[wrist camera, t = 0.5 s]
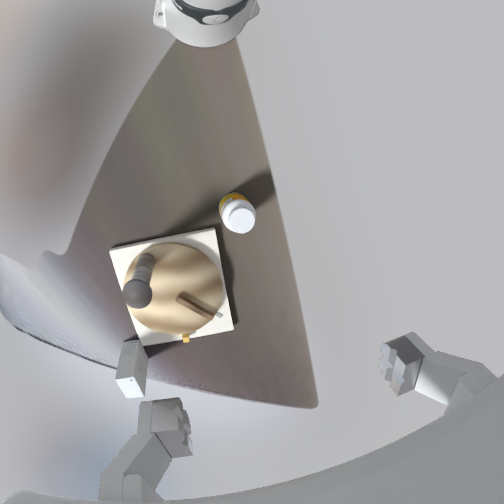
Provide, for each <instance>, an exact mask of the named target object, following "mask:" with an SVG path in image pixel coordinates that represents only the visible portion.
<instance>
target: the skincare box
mask: <svg viewBox="0 0 504 504" xmlns="http://www.w3.org/2000/svg"><path fill="white" fill-rule="evenodd" d="M147 366H148V357H147V355H146V352H145V350H144V348H143V346H142V344H141V341H140V339H139V340H133V341H127V342H123V345H122V350H121V354H120V359H119V363H118V368H117V373H116V378H115V380H116V382H117V383H118V385H119V386H120V388H121V390H122V391H123V393H124V395H125V396H126V398H127V399H128V398H136V397H144V396H145V386H146V376H147Z"/></svg>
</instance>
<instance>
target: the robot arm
mask: <svg viewBox="0 0 504 504" xmlns="http://www.w3.org/2000/svg"><path fill="white" fill-rule="evenodd" d="M160 13H162V14H163V15H162V16H159V14H160ZM258 13H259V6H258V3H257V0H156V5H155V11H154V17H153V23H154V25H155V26H157V27H160V28H162V29H166V30H168V31H169V32H171V33H172V34H173V35H174V36H175V37H176V38H177V39H179V40H180V41H182V42H184V43H186V44H188V45H192V46H196V47H213V46H218V45H221V44H224V43H226V42H228V41H230V40H232V39H233V38H235V37H236V36H237V35H238V34H239V33H240V32H241V31H242V29H243V27H244V26H245V24H246V23H247V22H248V21H249V20H250V19H252V18H254V17H255V16H256V15H257V14H258ZM381 352H382V354H383V355H382V356H381V357H380V359H379V369H380V372H381V375H382V376H383V377H384V379H386V380H388V381H390V387H391V388H392V389H393V390H394V392H395V393H396V395H397V396H399V395H402V394H404V393H406V392H408V391H411V390H413V389H414V390H416V391H418V392H420V393H422V394H424V395H426V396H428V397H430V398H433V399H435V400H437V401H439V402H441V403H443V404H445V405H447V406H448V407H447V409H446V411H445V413H444V415H443V416H442V417H440V418H438V419H437V420H435V421H433V422H431V423H429V424H428V425H426V426H424V427H422V428H421V429H419V430H417V431H415V432H413V433H411V434H409V435H407V436H405V437H403V438H401V439H399V440H397V441H395V442H393V443H391V444H389V445H386V446H384V447H382V448H380V449H378V450H375V451H373V452H371V453H368V454H366V455H363V456H361V457H358V458H356V459H353V460H351V461H348V462H346V463H343V464H340V465H338V466H335V467H332V468H329V469H326V470H323V471H320V472H317V473H314V474H311V475H307V476H304V477H301V478H297V479H294V480H290V481H287V482H283V483H279V484H275V485H271V486H266V487H262V488H257V489H252V490H247V491H242V492H237V493H231V494H225V495H218V496H211V497H203V498H195V499H184V500H170V501H164V500H163V499H162V498H161V497H160V496H159V495H158V494H157V493H156V492H155V489H156V487H157V485H158V484H159V482H160V480H161V479H162V477H163V475H164V473H165V471H166V470H167V468H168V466H169V464H170V462H171V461H172V458H177V457H184V456H191V455H193V448H192V441H191V439H190V437H189V435H190V434H191V426H190V422H189V418H188V415H187V412H186V411H185V410H184V409H183V406H182V402H181V400H180V398H170V399H161V400H153V401H144V402H141V403H140V406H139V417H138V428H137V435H133V436H132V437H131V439H130V440H129V441H128V442H127V443H126V444H125V446H124V447H123V448H122V449H121V451H120V452H119V453H118V454H117V455H116V457H115V458H114V459H113V460H112V461H111V462H110V464H109V465H108V466H107V467H106V468H105V470H104V471H103V472H102V473H101V478H100V488H99V500H88V499H77V498H69V497H61V496H55V495H48V494H43V493H38V492H33V491H27V490H19V491H17V492H15V493H14V494H13V495H11V496H10V497H9V498H8V499H7V500H5V501H4V502H3V503H2V504H504V374H503V375H502V376H501V377H499V378H497V377H496V376H495V375H494V374H493V373H492V372H490V370H488V369H487V368H486V367H485V366H484V365H483V364H482V363H479V362H475V361H472V360H468V359H464V358H461V357H457V356H454V355H449V354H446V353H443V352H439V351H437V352H435V351H434V350H432V349H431V348H430V347H429V346H428V345H427V344H426V343H425V342H424V341H423V340H422V339H421V338H420V337H419V336H418V335H417V334H416V333H414V332H411V333H408V334H406V335H403V336H401V337H398V338H396V339H393V340H391V341H388V342H386V343H383V344H382V346H381Z"/></svg>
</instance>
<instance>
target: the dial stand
mask: <svg viewBox="0 0 504 504" xmlns="http://www.w3.org/2000/svg"><path fill="white" fill-rule="evenodd" d="M167 242H175V243H183V244H187V245H190V246H192V247H195V248H197V249H198V250H200V251H202V252H203V253H205V254H206V255H207V256H208V257H209V258H210V259H211V260H212V261H213V263H214V264H215V265H216V267H217V269H218V271H219V273H220V276H221V280H222V285H223V298H222V302H221V305H220V308H219V310H218V312H217V313H216V315H215V316H214V318H213V320H212V321H210V322H208V323H207V324H206V325H205V326H203V327H201V328H200V329H198V330H195V331H193V332H190V333H186V334H179V335H171V334H164V333H159V332H156V331H154V330H151V329H149V328H147V327H146V326H144V325H143V324H141V323H140V322H139V321H138V320H137V319H136V318H135V317H134V316H133V315H132V313H131V312H130V310H129V309H128V310H129V313H130V315H131V318H132V321H133V323H134V326H135V329H136V331H137V334H138V336H139V339H140V341H141V344H142V346H146V345H153V344H159V343H165V342H171V341H177V340H182V339H183V342H184V343H185V342H190V340H189V338H194V337H199V336H204V335H209V334H215V333H220V332H225V331H230V330H234V328H233V323H232V318H231V313H230V308H229V303H228V298H227V292H226V287H225V282H224V277H223V271H222V266H221V260H220V255H219V249H218V244H217V238H216V232H215V228H209V229H204V230H199V231H193V232H188V233H183V234H178V235H173V236H168V237H163V238H158V239H153V240H148V241H144V242H139V243H134V244H129V245H125V246H120V247H115V248H111V249H110V251H109V252H110V255H111V259H112V262H113V265H114V268H115V272H116V275H117V278H118V281H119V284H120V287H121V290H123V283H124V278H125V275H126V272H127V270H128V268H129V266H130V264H131V262H132V261H133V260H134V258H135V257H136V256H137V255H138V254H140V253H141V252H142V251H144V250H145V249H147V248H149V247H151V246H154V245H157V244H160V243H167Z"/></svg>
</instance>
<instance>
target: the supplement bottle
mask: <svg viewBox="0 0 504 504" xmlns="http://www.w3.org/2000/svg"><path fill="white" fill-rule="evenodd" d="M219 212H220V215H221V217H222V220H223V222H224V224H225V226H226V227H227V228H228V229H230V230H231V231H234V232H237V233H246V232H248V231H250V230H251V229H252V228H253V226H254V223H255V217H256V214H255V210H254V208H253V206H252V205H251V204H250V202H249V201H248V200H247V199H246V198H245V197H244V196H243V195H241V194H239V193H229V194H227V195H225V196H224V197H223V198H222V199H221V201H220V204H219Z"/></svg>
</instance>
